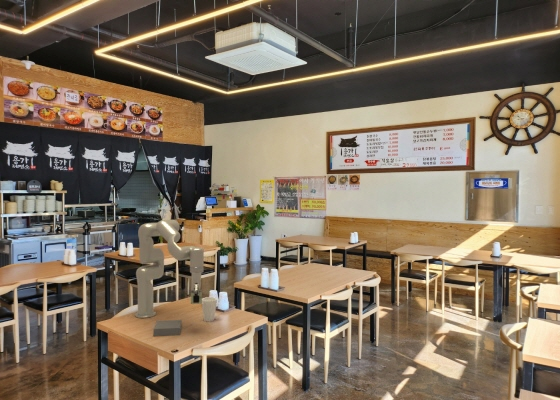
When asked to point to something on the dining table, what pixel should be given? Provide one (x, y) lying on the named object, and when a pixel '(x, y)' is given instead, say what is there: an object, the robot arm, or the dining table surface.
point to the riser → (167, 327)
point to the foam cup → (209, 308)
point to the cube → (199, 297)
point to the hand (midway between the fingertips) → (196, 300)
